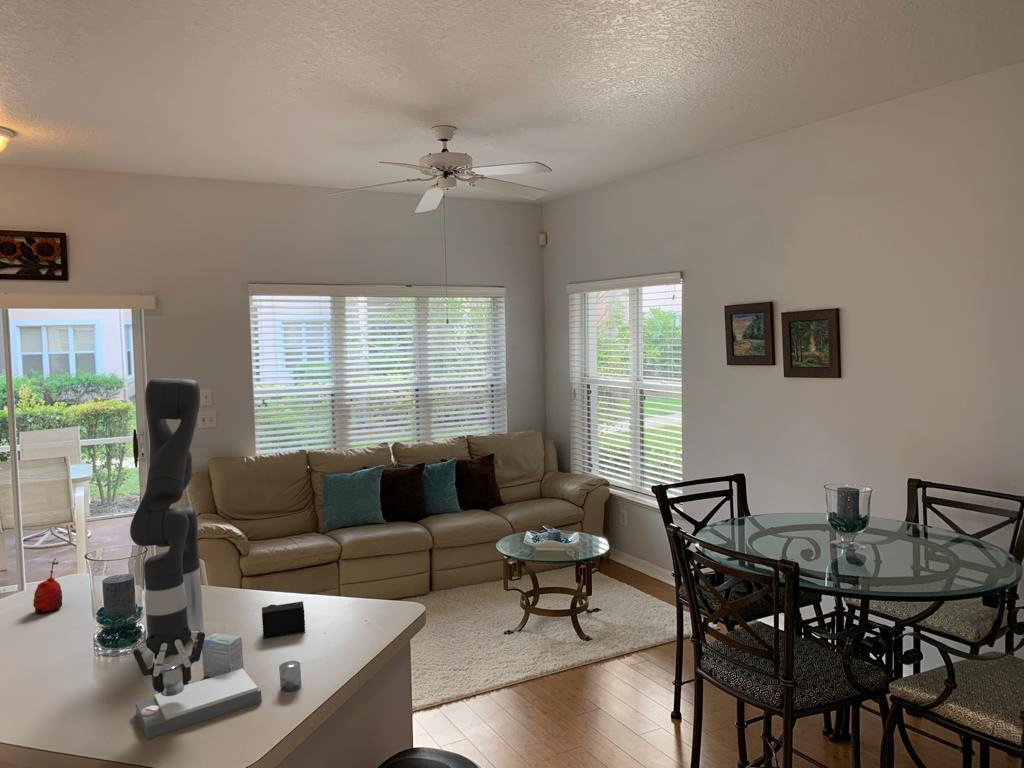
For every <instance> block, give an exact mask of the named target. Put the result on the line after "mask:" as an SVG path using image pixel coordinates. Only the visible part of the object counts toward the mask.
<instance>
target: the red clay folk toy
mask: <svg viewBox="0 0 1024 768" xmlns="http://www.w3.org/2000/svg"><path fill="white" fill-rule="evenodd" d="M56 560H57V558H54V559H53V561H52V562H50V561H48V563H49V564H52V566H51V570H49V572H50V576H49V578H47V579H46V580H44V581H42V582H40V583H38V584H37V587H36V589H35V591H34V595H33V605H32V606H33V607H34V611H35V614H39V615H40V614H41V613H42V614H47V613H51V612H55V611H56V610H57V611H58V610H59V609H61V608H62V606H63V591H62V590H63V589H62V588H61V585H60V583H59V582H58V581H57V580H56V579H55V577H53V572H54V571H53V569H54V565H59V561H58V560H57V561H56ZM55 561H56V562H55Z"/></svg>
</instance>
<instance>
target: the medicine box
mask: <svg viewBox="0 0 1024 768" xmlns="http://www.w3.org/2000/svg"><path fill="white" fill-rule="evenodd" d="M242 642H243V641H242V636H240V635H233V634H225V633H216V632H215V633H212V634H211V635H208V636H207V637H205V638H204V643H203V647H202V651H201V655H202V669H203V670H202V671H203V676H204V677H209V678H212V677H215V676H219V675H222V674H225V673H229V672H232V671H235V670H239V669H242V668H243V669H244V670H245V666H244V655H243V643H242Z"/></svg>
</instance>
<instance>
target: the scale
mask: <svg viewBox="0 0 1024 768" xmlns="http://www.w3.org/2000/svg"><path fill="white" fill-rule="evenodd" d="M262 698H263V697H262V690H261V689H260V687H259V686H258V685H257V684H256V682H255V681H254V680H253V679H252V677H251V676H250V675H249V674H248V672H247V671H246V670H245V668H244V669H243V668H242V669H239V670H235V671H232V672H229V673H225V674H222V675H219V676H215V677H209V678H205V679H202V680H199V681H196V682H192V683H188V685H185V689H184V691H183V692H181V693H179V694H177V695H174V696H163V695H161V693H158V692H157V693H155V694H154V696H153V697H150V698H146V699H143V700H140V701H136V702H135V708H136V710H135V711H136V716H137V718H138V720H139V722H140V724H141V727H142V730H143V731H144V734H145V736H146V739H147V740H150V739H152V738H155V737H156V738H157V737H158V736H161V735H164V734H168V733H170V732H174V731H176V730H179V729H182V728H186V727H188V726H191V725H195V724H198V723H200V722H203V721H206V720H210V719H212V718H213V719H214V718H216V717H218V716H221V715H225V714H228V713H230V712H231V713H232V712H234V711H237V710H239V709H242V708H246V707H249V706H252V705H255V704H258V703H262V702H263V699H262Z"/></svg>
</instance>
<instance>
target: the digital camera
mask: <svg viewBox="0 0 1024 768" xmlns="http://www.w3.org/2000/svg"><path fill="white" fill-rule="evenodd" d="M304 607H305V606H304V601H301V600H300V601H296V602H290V603H289V602H288V603H282V604H277V605H276V604H269V605H268V606H263V607H261V621H262V635H263V636H262V637H263V640H266V639H274V638H279V637H286V636H291V635H296V634H297V635H298V634H304V633H306V619H305V608H304Z"/></svg>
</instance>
